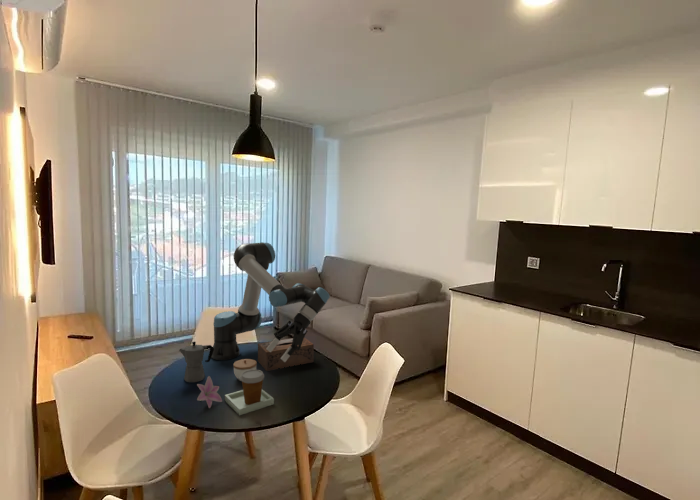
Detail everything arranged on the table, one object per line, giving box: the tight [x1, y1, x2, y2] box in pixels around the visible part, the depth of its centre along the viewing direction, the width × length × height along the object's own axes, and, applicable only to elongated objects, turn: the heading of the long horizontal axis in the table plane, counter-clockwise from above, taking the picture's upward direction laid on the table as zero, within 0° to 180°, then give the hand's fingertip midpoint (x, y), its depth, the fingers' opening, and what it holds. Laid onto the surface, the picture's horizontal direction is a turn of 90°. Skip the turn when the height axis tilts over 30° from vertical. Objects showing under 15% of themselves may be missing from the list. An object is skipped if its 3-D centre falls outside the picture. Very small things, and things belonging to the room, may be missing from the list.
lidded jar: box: [233, 358, 258, 382], centre depth 187 cm, size 11×11×9 cm
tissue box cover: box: [257, 337, 315, 372], centre depth 209 cm, size 26×14×10 cm, turn 120°
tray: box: [224, 388, 275, 416], centre depth 164 cm, size 15×15×2 cm
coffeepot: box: [178, 341, 214, 383], centre depth 186 cm, size 15×9×18 cm, turn 110°
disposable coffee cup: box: [240, 369, 265, 405], centre depth 162 cm, size 10×10×12 cm
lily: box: [196, 375, 223, 409], centre depth 163 cm, size 12×12×10 cm
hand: (275, 355), depth 174 cm, fingers open, 13 cm apart
